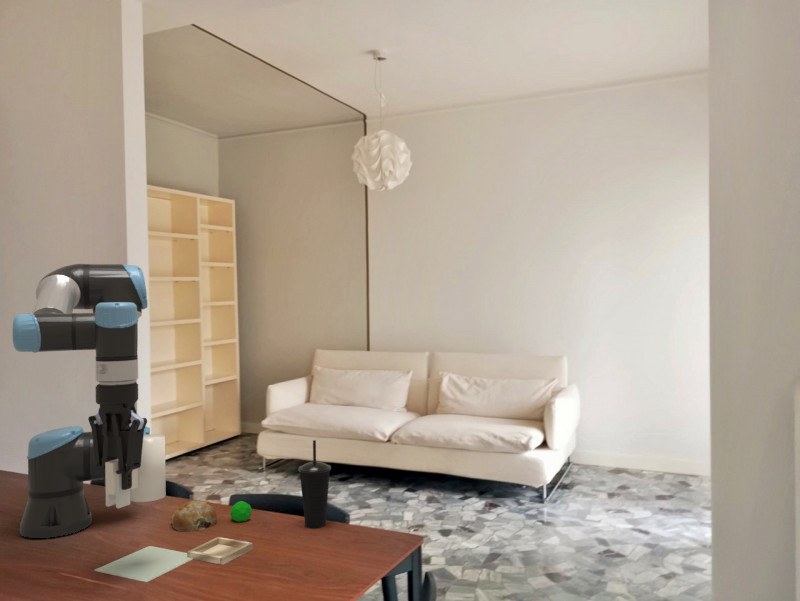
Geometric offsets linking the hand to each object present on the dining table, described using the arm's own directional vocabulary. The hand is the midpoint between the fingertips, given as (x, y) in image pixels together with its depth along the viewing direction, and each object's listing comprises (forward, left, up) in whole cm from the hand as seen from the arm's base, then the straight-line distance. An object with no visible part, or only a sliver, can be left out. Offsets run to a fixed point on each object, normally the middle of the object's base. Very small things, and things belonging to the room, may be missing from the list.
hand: (118, 504), depth 123 cm
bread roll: (-9, +29, -15) cm, 34 cm away
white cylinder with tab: (0, +4, 0) cm, 4 cm away
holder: (+10, +17, -14) cm, 24 cm away
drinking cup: (+18, +41, -14) cm, 47 cm away
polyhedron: (0, +36, -14) cm, 39 cm away
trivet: (0, +7, -14) cm, 16 cm away
